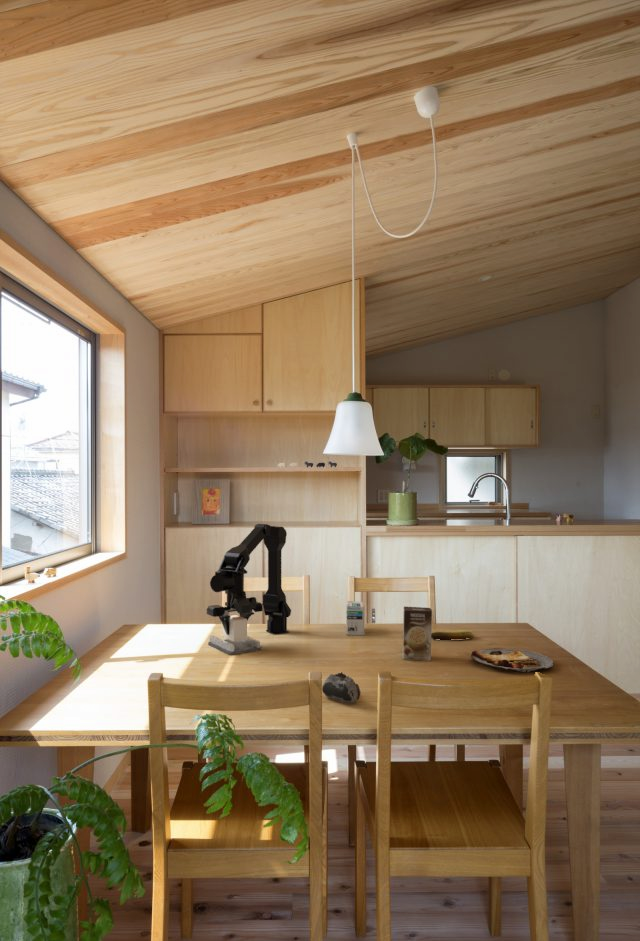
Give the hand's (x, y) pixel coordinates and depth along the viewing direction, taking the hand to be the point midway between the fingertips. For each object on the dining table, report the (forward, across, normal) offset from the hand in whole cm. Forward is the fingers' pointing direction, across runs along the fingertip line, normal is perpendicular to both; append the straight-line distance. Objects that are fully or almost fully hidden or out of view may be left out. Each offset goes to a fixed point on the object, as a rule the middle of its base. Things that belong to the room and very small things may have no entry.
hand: (234, 633), depth 239 cm
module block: (+2, 0, 0) cm, 2 cm away
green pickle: (+6, +74, -30) cm, 80 cm away
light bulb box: (+5, +49, -3) cm, 49 cm away
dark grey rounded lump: (+5, 0, -64) cm, 64 cm away
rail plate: (+5, 0, 0) cm, 5 cm away
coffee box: (+5, +44, -43) cm, 62 cm away
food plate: (+5, +65, -64) cm, 91 cm away
